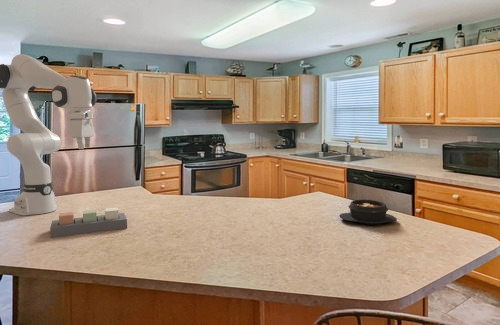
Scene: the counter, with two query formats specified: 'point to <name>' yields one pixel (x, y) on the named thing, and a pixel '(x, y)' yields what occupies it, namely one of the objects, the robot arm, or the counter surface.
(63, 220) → the terracotta block
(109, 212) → the cream block
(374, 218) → the casserole
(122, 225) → the console
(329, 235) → the counter surface
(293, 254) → the counter surface
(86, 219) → the sage green block
